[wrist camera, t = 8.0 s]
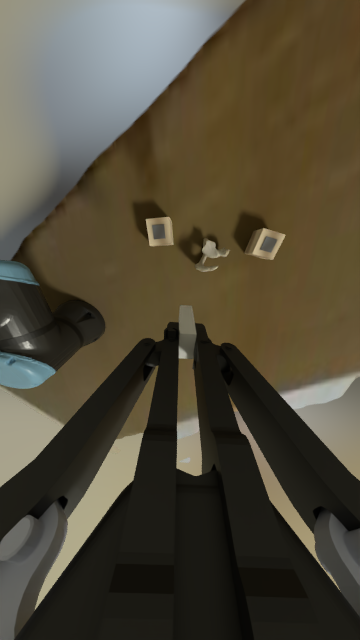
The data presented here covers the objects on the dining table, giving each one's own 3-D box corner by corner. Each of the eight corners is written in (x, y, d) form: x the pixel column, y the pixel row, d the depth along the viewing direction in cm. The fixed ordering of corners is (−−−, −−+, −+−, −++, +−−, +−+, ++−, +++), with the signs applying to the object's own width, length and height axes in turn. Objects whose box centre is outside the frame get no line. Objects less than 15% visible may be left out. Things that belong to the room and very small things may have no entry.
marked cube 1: (244, 253, 35) (252, 253, 31) (253, 230, 33) (264, 228, 29) (262, 258, 36) (273, 259, 31) (272, 236, 34) (286, 234, 29)
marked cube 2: (154, 246, 36) (149, 245, 31) (151, 223, 33) (145, 218, 29) (173, 244, 35) (171, 244, 31) (171, 221, 33) (169, 216, 28)
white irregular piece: (221, 224, 32) (236, 248, 26) (225, 248, 37) (238, 273, 31) (187, 241, 34) (193, 267, 29) (195, 262, 39) (202, 287, 34)
